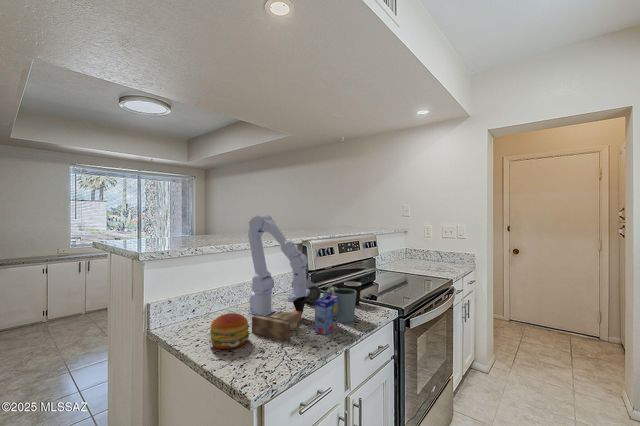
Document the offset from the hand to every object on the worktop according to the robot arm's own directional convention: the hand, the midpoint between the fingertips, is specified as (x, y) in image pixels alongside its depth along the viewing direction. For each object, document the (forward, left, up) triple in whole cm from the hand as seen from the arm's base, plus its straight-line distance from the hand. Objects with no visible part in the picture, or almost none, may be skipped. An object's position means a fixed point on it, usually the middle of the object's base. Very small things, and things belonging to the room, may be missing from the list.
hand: (299, 314), depth 127 cm
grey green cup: (+18, +7, -2) cm, 19 cm away
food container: (+9, +14, -2) cm, 17 cm away
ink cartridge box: (+16, -6, -2) cm, 17 cm away
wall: (0, -20, -1) cm, 20 cm away
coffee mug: (+12, +28, -2) cm, 31 cm away
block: (0, -12, -1) cm, 12 cm away
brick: (0, -5, -1) cm, 5 cm away
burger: (-9, -32, -2) cm, 33 cm away
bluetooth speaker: (-12, +25, -2) cm, 28 cm away
